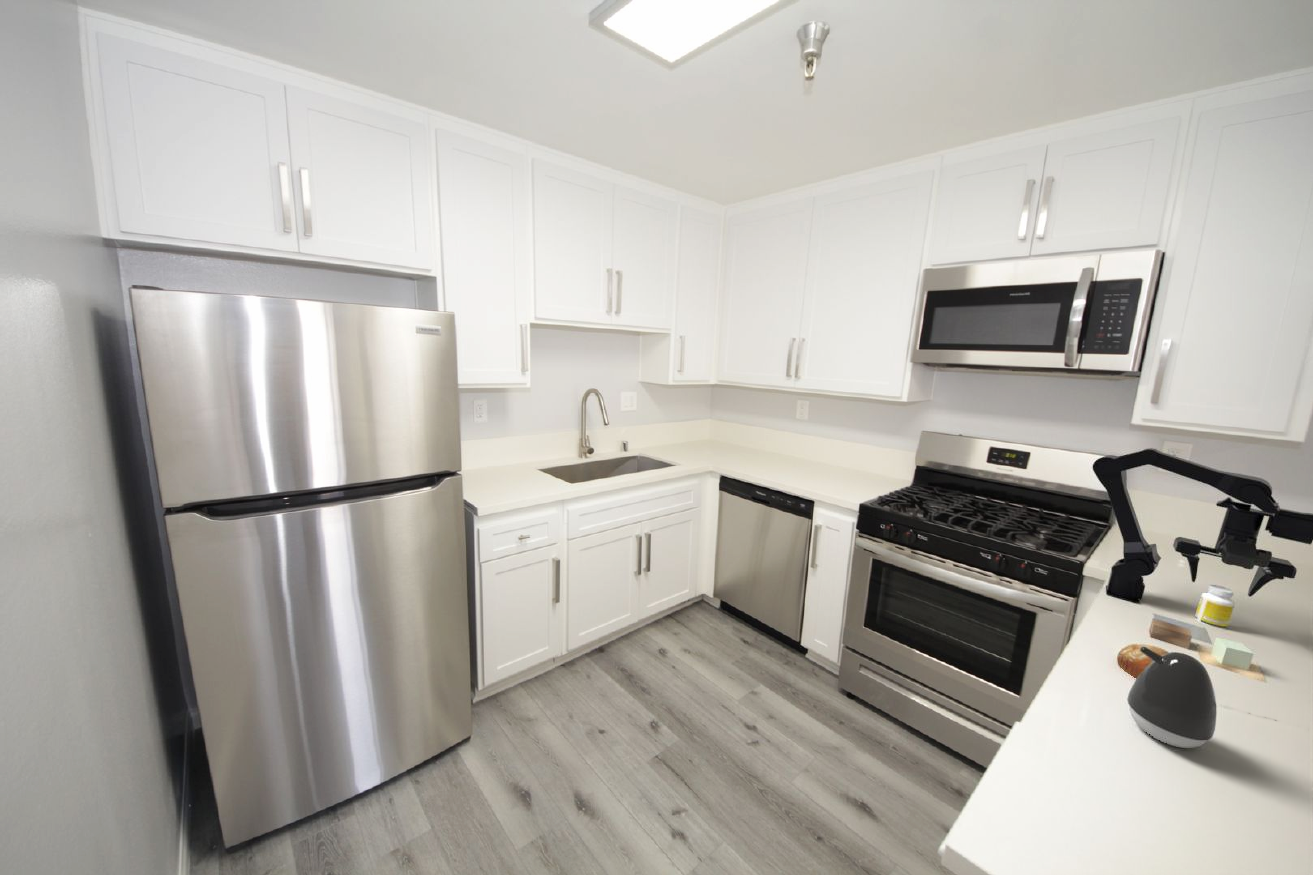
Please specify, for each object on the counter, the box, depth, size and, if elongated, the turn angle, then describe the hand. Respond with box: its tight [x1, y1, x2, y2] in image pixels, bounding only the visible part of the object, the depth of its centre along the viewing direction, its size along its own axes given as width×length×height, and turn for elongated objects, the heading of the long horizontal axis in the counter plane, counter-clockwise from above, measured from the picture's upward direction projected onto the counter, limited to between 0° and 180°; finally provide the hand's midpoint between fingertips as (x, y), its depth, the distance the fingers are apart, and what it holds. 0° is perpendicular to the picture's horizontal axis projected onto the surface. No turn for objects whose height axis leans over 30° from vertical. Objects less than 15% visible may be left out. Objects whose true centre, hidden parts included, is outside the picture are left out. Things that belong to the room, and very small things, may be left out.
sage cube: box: [1211, 637, 1254, 670], centre depth 103 cm, size 4×4×4 cm
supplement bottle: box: [1194, 584, 1235, 630], centre depth 119 cm, size 5×5×10 cm
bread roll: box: [1116, 643, 1170, 680], centre depth 98 cm, size 10×10×8 cm
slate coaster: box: [1152, 613, 1213, 645], centre depth 116 cm, size 9×9×1 cm
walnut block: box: [1148, 617, 1193, 650], centre depth 111 cm, size 6×4×4 cm, turn 47°
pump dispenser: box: [1126, 647, 1218, 749], centre depth 81 cm, size 10×10×15 cm
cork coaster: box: [1194, 643, 1268, 683], centre depth 104 cm, size 9×9×1 cm
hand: (1220, 588), depth 118 cm, fingers open, 9 cm apart
